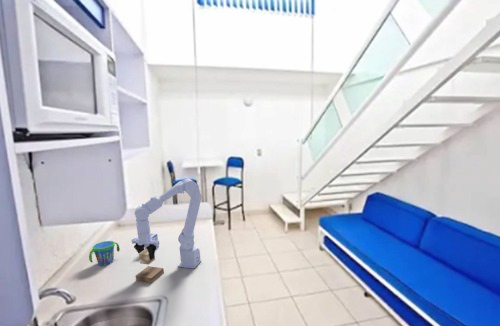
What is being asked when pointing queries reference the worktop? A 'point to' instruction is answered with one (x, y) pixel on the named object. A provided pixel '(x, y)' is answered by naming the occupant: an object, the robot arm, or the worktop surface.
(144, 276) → the walnut block
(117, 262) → the worktop surface
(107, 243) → the snack cup
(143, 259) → the maple cube
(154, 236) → the medicine box
